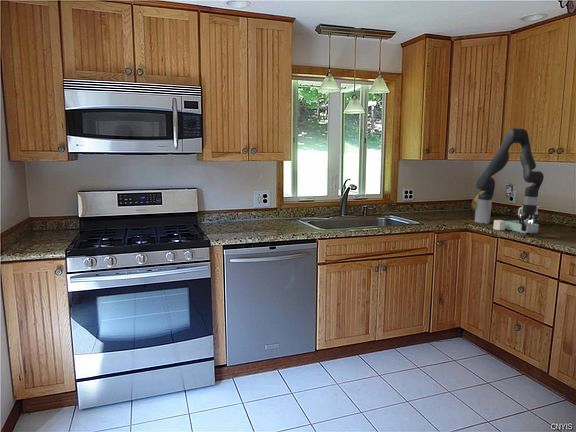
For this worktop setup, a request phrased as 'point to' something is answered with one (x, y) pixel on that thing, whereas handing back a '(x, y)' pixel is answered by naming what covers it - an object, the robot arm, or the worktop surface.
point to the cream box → (499, 225)
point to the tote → (516, 227)
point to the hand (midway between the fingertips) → (526, 230)
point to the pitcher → (522, 211)
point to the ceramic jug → (475, 200)
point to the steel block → (528, 227)
